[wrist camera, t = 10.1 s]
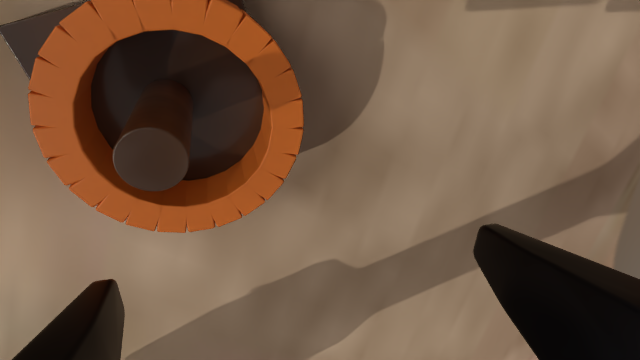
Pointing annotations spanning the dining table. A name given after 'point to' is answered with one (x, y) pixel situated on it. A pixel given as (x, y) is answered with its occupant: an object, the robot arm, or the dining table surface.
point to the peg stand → (162, 101)
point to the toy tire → (96, 155)
